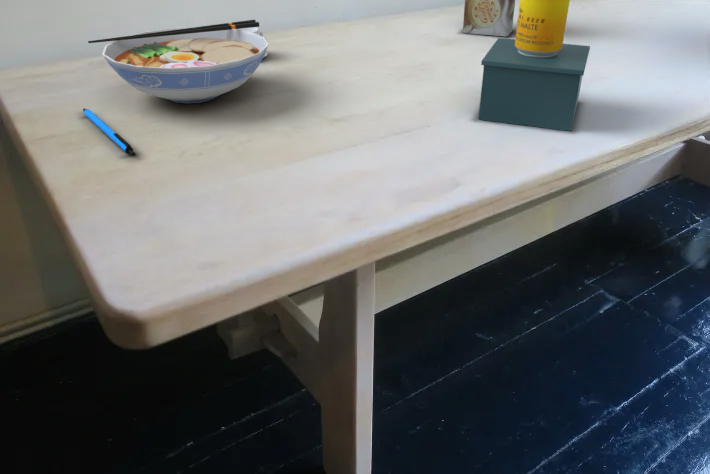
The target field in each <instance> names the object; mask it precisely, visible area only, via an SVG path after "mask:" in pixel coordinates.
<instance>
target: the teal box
mask: <svg viewBox="0 0 710 474" xmlns="http://www.w3.org/2000/svg"><path fill="white" fill-rule="evenodd" d="M515 39H516V38H515ZM515 39H513V38H502V37H498V38H497V39H496V41H495V42H494V43H493V45H492V46H491V47H490V49H489V50H488V51H487V53H486V54H485V55H484V57H483V58H482V60H481V62H480V65H481V66H483V71H482V80H481V89H480V100H479V109H478V120H481V121H487V122H496V123H503V124H511V125H520V126H528V127H536V128H544V129H551V130H559V131H566V132H567V131H568V132H571V131H572V128H573V123H574V119H575V116H576V111H577V107H578V104H579V97H580V91H581V88H582V87H581V86H582V82H583V76H584V75H585V71H586V65H587V63H588V57H589V53H590V49H591V46H590V45H583V44H570V43H563V45H562V49H561V50H560V51H559V52H557V55H555V56H553V57H546V58H538V57H529V56H525V55H522V54H520V53H519V52H518V49H517V48H516V47H515Z"/></svg>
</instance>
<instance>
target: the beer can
mask: <svg viewBox="0 0 710 474" xmlns="http://www.w3.org/2000/svg"><path fill="white" fill-rule="evenodd" d="M570 1H571V0H519V7H518V16H517V17H518V18H517V23H516V32H515V33H516V34H515V47H516V48H517V49H518V52H519V53H520V54H522V55H525V56H529V57H538V58H546V57H553V56H555V55H557V52H559V51H560V50H561V49H562V45H563V44H564V38H565V32H566V25H567V19H568V13H569V7H570Z"/></svg>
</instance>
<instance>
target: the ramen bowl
mask: <svg viewBox="0 0 710 474" xmlns="http://www.w3.org/2000/svg"><path fill="white" fill-rule="evenodd" d="M252 27H257V28H259V27H260V22H259V21H256V19H248V20H247V19H246V20H240V21H239V20H238V21H232V22H225V23H217V24H210V25H202V26H188V27H187V26H186V27H168V28H162V29H161V28H160V29H155V30H154V29H153V30H148V31H141V32H137V33H134V34H130V35H127V36H126V35H125V36H118V37H110V38H103V39H94V40H88V41H87V43H88V44H94V43H95V44H96V43H105V42H110V43H108V44H106V45H104V48H103V51H102V53H101V55H102V56H103V58H104V59H105V60H106V62H107V63H108V65H109V66H110V67H111V69H113V70H114V71H115V73H116V74H117V75H118V76H119V77H121V79H123V80H124V81H125V82H126V83H128V84H129V85H130V86H132V87H133V88H134V89H136V90H138V91H140V92H141V93H144V94H146V95H149V96H153V97H157V98H162V99H166V100H169V101H170V102H173V103H178V104H187V105H188V104H189V105H190V104H191V105H192V104H200V103H205V102H209V101H211V100H214V99H217V98H218V97H219V96H221V95H223V94H226V93H228V92H230V91H233V90H235V89H238V88H239V87H240V86H242V85H244V83H246V82H247V80H249V79H250V78H251V76H252V75H253V74H254V73H255V71H257V69H258V68H259V66H260V64H261V62H262V60H263V59H264V58H265V57H264V55H265V52H266V51H267V50H268V47H269V42H267V39H266V37H265V36H264V35H263V36H260V35H259V34H258V35H257V34H255V33H252V32H250V31H243V30H237V29H241V28H252Z"/></svg>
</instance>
